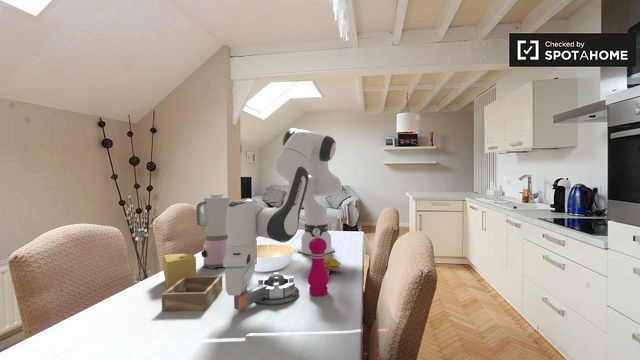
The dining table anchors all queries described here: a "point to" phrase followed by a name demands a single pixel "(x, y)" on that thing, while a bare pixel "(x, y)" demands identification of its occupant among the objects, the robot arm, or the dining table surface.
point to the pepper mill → (318, 267)
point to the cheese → (178, 267)
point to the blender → (214, 229)
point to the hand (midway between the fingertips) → (242, 297)
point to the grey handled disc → (265, 291)
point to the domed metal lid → (278, 301)
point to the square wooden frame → (192, 293)
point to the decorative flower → (331, 264)
